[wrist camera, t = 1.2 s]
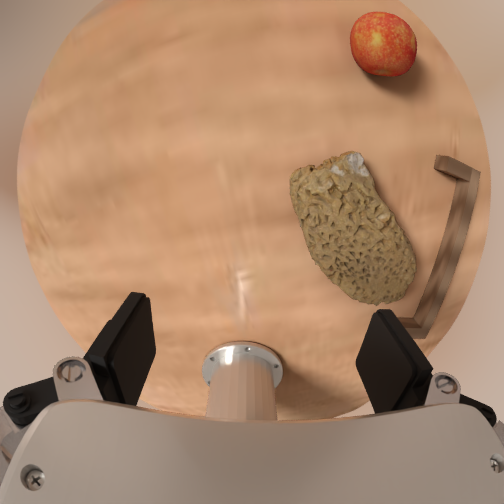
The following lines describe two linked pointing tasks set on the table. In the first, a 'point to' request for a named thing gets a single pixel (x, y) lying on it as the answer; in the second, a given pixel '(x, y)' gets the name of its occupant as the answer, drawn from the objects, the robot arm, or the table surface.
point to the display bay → (446, 245)
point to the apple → (383, 44)
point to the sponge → (352, 230)
